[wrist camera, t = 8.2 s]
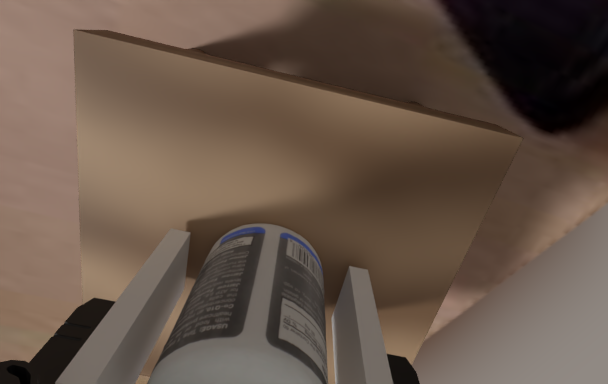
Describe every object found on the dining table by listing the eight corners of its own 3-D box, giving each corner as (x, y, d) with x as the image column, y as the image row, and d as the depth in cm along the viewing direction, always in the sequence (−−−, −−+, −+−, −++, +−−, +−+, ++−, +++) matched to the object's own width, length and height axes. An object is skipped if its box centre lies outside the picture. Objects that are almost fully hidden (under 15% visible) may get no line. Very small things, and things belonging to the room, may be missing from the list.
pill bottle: (205, 307, 15) (97, 577, 8) (210, 211, 14) (72, 443, 6) (314, 322, 16) (312, 601, 8) (333, 229, 14) (357, 478, 6)
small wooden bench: (169, 31, 18) (73, 29, 11) (444, 99, 19) (523, 138, 12) (153, 265, 24) (84, 364, 17) (364, 308, 25) (384, 419, 18)
